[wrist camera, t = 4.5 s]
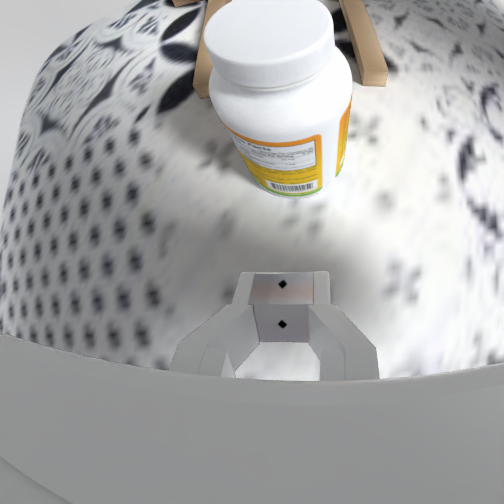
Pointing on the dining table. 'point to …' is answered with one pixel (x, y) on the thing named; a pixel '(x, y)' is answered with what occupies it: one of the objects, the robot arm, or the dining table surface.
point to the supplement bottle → (281, 91)
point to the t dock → (358, 28)
